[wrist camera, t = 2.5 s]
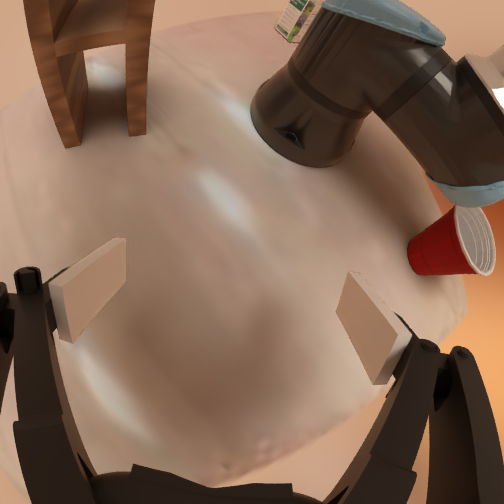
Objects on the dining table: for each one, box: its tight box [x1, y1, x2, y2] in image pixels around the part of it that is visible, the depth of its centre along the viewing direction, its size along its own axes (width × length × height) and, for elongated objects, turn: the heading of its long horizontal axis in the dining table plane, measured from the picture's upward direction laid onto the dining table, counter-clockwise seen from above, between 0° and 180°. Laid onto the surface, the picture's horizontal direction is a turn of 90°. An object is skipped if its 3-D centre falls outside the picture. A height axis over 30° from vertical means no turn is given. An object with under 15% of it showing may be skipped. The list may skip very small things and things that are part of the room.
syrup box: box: [275, 0, 326, 42], centre depth 36 cm, size 6×6×14 cm
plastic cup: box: [407, 204, 496, 276], centre depth 31 cm, size 11×11×12 cm
